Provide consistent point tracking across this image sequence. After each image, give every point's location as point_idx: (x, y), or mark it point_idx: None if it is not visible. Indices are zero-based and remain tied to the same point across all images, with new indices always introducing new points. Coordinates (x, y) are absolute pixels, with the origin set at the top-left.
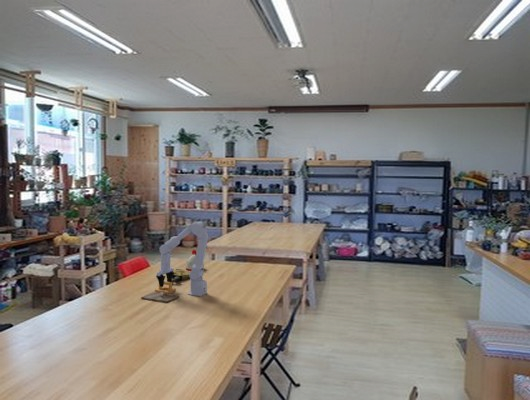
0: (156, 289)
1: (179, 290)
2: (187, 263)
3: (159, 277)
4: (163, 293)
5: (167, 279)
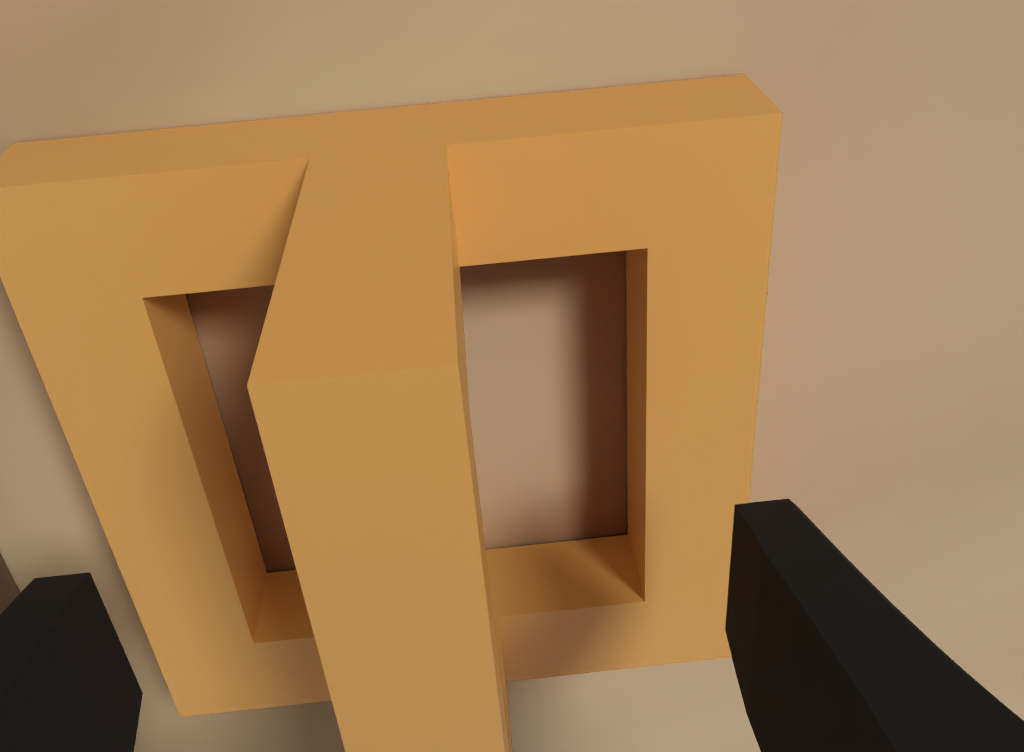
0: (87, 199)
1: None
2: None
3: None
4: None
5: (830, 696)
